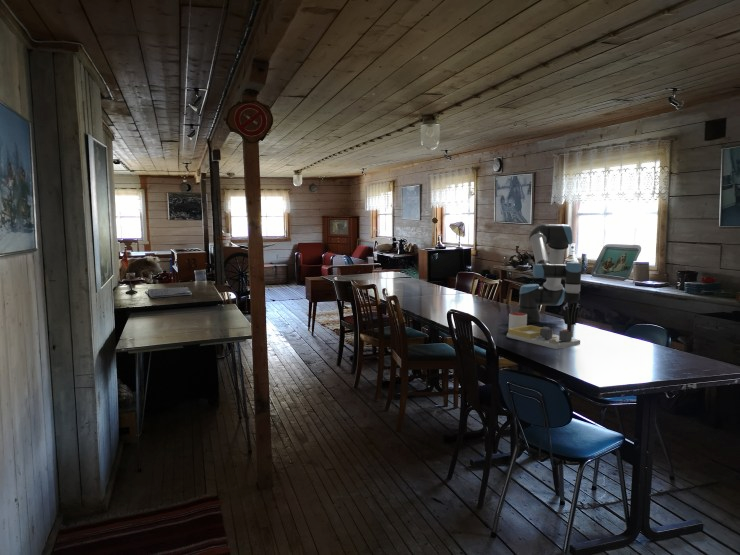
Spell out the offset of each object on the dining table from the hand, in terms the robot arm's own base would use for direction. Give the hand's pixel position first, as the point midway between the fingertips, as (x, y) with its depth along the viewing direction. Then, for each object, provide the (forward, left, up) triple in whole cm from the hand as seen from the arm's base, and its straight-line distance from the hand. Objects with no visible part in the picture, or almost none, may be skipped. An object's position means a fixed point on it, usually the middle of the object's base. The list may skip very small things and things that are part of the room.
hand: (570, 336), depth 275 cm
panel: (+5, -13, -4) cm, 15 cm away
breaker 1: (+8, -9, -2) cm, 12 cm away
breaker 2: (+4, 0, -2) cm, 4 cm away
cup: (-2, -36, -4) cm, 36 cm away
